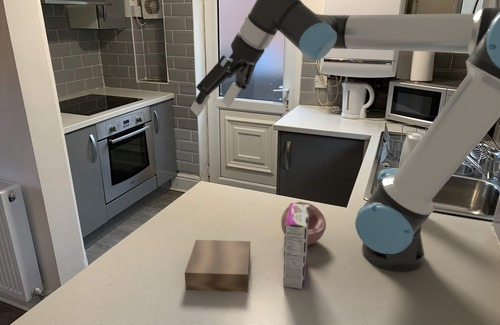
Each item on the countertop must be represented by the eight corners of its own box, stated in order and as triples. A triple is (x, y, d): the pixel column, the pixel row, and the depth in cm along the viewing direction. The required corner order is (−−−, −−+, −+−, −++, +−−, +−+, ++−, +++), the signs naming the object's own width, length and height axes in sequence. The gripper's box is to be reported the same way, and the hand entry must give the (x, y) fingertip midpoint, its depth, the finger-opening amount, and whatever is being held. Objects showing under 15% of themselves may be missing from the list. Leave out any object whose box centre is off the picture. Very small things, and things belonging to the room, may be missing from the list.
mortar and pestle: (296, 258, 98) (298, 218, 94) (272, 237, 108) (273, 200, 104) (333, 247, 103) (336, 209, 99) (307, 227, 113) (309, 192, 110)
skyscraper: (405, 221, 118) (419, 134, 109) (386, 210, 125) (398, 127, 116) (425, 216, 121) (440, 131, 112) (405, 206, 128) (418, 125, 119)
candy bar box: (287, 260, 97) (289, 201, 92) (306, 262, 96) (310, 203, 91) (281, 287, 87) (284, 223, 82) (303, 290, 86) (307, 226, 81)
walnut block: (250, 258, 99) (250, 241, 97) (247, 293, 86) (247, 274, 84) (196, 256, 99) (195, 239, 98) (185, 291, 86) (184, 272, 85)
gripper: (266, 30, 100) (228, 92, 111) (209, 30, 79) (169, 105, 91) (287, 48, 98) (245, 109, 110) (233, 53, 78) (189, 126, 90)
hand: (210, 107), depth 101 cm, fingers open, 13 cm apart
